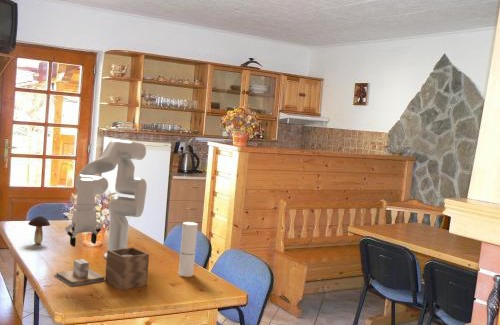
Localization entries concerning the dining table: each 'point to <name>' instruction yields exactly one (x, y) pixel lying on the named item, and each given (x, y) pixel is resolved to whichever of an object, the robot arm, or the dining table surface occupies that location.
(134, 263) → the box
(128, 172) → the robot arm
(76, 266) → the lid
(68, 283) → the mat
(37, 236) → the decorative mushroom
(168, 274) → the dining table surface
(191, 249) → the cylindrical container
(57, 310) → the dining table surface
